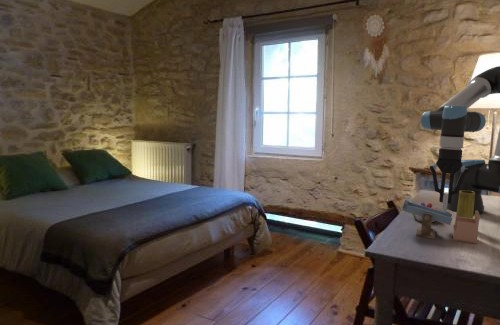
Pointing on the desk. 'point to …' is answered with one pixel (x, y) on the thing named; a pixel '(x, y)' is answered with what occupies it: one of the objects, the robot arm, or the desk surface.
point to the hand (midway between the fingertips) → (444, 211)
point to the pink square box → (466, 229)
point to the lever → (419, 210)
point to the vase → (465, 204)
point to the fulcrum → (426, 227)
